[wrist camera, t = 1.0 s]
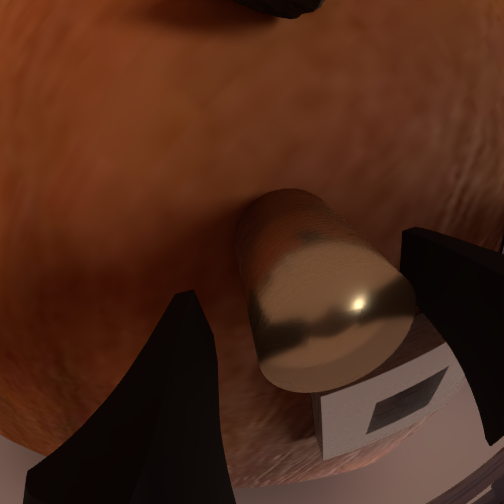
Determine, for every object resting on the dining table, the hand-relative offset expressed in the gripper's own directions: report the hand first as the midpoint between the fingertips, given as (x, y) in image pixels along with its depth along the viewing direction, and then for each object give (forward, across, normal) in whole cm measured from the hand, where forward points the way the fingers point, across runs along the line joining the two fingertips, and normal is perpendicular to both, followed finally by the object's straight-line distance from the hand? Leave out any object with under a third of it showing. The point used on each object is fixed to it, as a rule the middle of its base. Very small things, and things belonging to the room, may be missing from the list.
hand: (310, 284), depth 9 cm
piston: (+3, 0, 0) cm, 3 cm away
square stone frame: (+3, -7, +15) cm, 17 cm away
